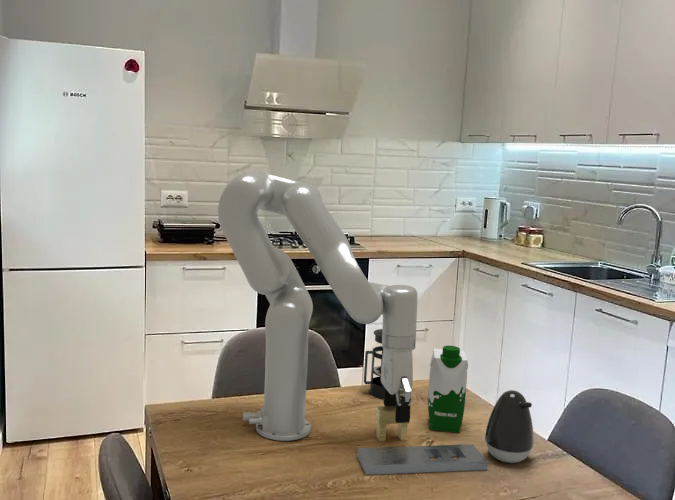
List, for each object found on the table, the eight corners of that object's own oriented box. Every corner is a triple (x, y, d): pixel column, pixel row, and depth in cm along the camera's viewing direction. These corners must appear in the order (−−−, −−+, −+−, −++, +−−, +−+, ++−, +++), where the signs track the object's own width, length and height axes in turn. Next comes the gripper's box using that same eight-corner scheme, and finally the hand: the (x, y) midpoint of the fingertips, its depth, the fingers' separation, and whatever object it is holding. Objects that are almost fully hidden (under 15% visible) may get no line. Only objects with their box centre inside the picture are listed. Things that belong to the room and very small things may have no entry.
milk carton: (426, 431, 159) (432, 349, 156) (425, 416, 168) (431, 338, 165) (464, 434, 158) (471, 352, 155) (461, 419, 167) (467, 341, 164)
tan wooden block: (377, 441, 152) (379, 411, 151) (374, 435, 155) (376, 406, 154) (407, 440, 153) (409, 410, 152) (403, 434, 156) (406, 405, 155)
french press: (400, 387, 188) (406, 306, 185) (410, 399, 179) (416, 315, 176) (359, 387, 186) (364, 306, 183) (367, 400, 177) (372, 314, 173)
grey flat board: (365, 475, 136) (366, 465, 135) (357, 457, 143) (357, 448, 143) (486, 469, 141) (487, 460, 140) (472, 452, 149) (472, 444, 148)
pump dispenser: (505, 472, 140) (512, 402, 138) (473, 451, 149) (479, 385, 147) (542, 464, 145) (549, 396, 143) (509, 444, 154) (515, 380, 152)
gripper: (373, 331, 158) (371, 400, 161) (393, 352, 142) (390, 430, 144) (403, 330, 160) (401, 399, 162) (427, 351, 143) (424, 428, 146)
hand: (396, 413), depth 153 cm, fingers open, 9 cm apart
